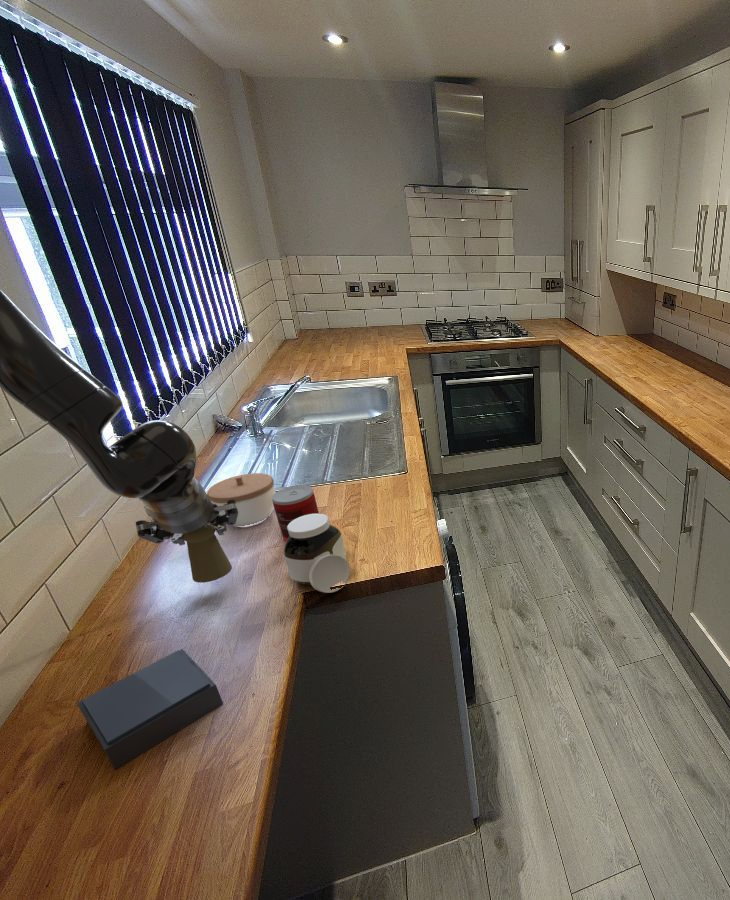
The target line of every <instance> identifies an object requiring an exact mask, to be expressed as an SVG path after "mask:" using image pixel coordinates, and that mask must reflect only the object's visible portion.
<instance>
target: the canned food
mask: <svg viewBox="0 0 730 900" xmlns="http://www.w3.org/2000/svg"><path fill="white" fill-rule="evenodd" d="M272 502H273V506H274V512H275V515H276V519H277V523H278V525H279V530H280V533H281V536H282V539H283V542H284V544H286V541H287V539H288V537H289V536H290V535H289V532H288V529H287V526H288V524H289V523H290V522H291V521H293V520H294V519H296V518H299V517H301V516H304V515H308V514H320V512H319V508H318V504H317V500H316V496H315V492H314V490H313V487H312V486H310V485H306V484H299V485H298V484H297V485H292V486H288V487H284V488H282V489H280V490H278V491H276V493H275V494H274V495H273V496H272Z"/></svg>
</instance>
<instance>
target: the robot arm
mask: <svg viewBox="0 0 730 900" xmlns="http://www.w3.org/2000/svg"><path fill="white" fill-rule="evenodd" d="M0 388H1V390H3V391H4V392H5V393H6V394H7V395H8V396H10V397H11V398H12V399H13V400H14V401H16V402H17V403H19V405H21V406H23V407H24V408H25V409H27V410H28V411H29V412H31V413H32V414H34V416H36V417H38V418H39V419H40V420H41V421H43V422H44V423H46V424H47V425H48V426H49V427H51V428H52V429H53V430H54V431H56V432H57V433H58V434H59V435H60V436H61V437H62V438H63V439H64V440H65V441H67V442H68V443H69V444H70V445H71V446H72V448H73V449H74V450H75V451H76V452H77V453H78V455H79V456H80V457H81V458H82V460H83V461H84V462H85V464H86V465H87V466H88V468H89V469H90V470H91V472H92V473H93V474H94V476H95V478H96V479H97V480H98V481H99V482H100V484H101V485H102V487H104V488H105V489H106V490H108V491H109V492H111V493H112V494H114V495H115V496H119V497H122V498H126V499H138V501H139V502H140V503H141V505H142V506H143V509H144V511H145V513H146V515H147V516H149V517H151V518H152V520H149V521H147V520H144V519H143V520H142V519H141V520H137V521H135V527H136V532H137V533H136V534H137V537H138V538H140V539H143V540H146V541H149V542H150V543H153V544H161V543H164V541H165V540H168V542H172V543H173V544H174V545H177V544H178V545H179V546H184V545H186V541H185V540H183V539H182V538H181V536H182V534H183V533H189V532H192V531H195V530H197V529H199V528H205V529H209V530H211V529H213V528H214V529H216V531H215V532H216V533H217V535H218V536H223V535H224V534H225V532H227V531H228V528H227V526H233V525H234V524H235V523H236V520H237V516H238V509H237V505H236V501H235V500H229V501H227V504H224V505H223V506H217V505H216V504H213V503H212V502H211V501H210V499H209V497H208V495H207V491H206V490H205V488H204V486H203V485H202V483H200V481H199V480H197V479H196V477H195V475H196V467H197V460H198V454H197V449H196V446H195V443H194V441H193V439H192V438H191V436H190V435H189V434H188V433H187V432H186V431H185V429H183V428H182V427H181V426H179V425H177V424H175V423H173V422H170V421H167V420H162V419H154V420H148V421H145V422H143V423H141V424H139V425H138V426H136V427H135V428H134V429H132V430H131V431H130V432H128V433H126V434H125V435H124V436H122V437H121V438H119V439H118V440H117V441H115V442H114V443H113V444H111V445H110V446H107V445H106V443H105V441H104V438H103V432H104V430H105V428H106V427H107V425H108V424H109V423H110V422H111V421H112V420H113V419H114V418H115V417H116V416H117V415H119V413H120V412H121V411H122V408H123V401H122V400H121V398H120V397H119V396H118V395H117V394H116V393H115V392H114V391H113V390H111V388H109V387H108V386H106V385H105V384H104V383H103V382H101V381H100V380H99V379H98V378H96V376H94V375H93V374H92V373H90V372H89V371H88V370H87V369H86V368H85V367H83V366H82V365H81V364H80V363H78V362H77V361H76V360H75V359H73V358H72V357H71V356H70V355H69V354H67V353H66V352H65V351H64V350H63V349H62V348H60V347H59V346H58V345H57V344H55V342H54V341H52V340H51V339H50V338H49V337H48V336H47V335H46V334H45V333H44V332H43V331H42V330H41V329H40V328H38V326H37V325H35V323H34V322H33V321H31V320H30V319H29V318H28V316H26V315H25V314H24V313H23V312H22V311H21V309H19V307H18V306H17V305H16V304H15V303H14V302H13V301H12V300H11V299H10V298H9V297H8V296H7V295H6V294H5V293H4V292H3V290H2V289H0ZM219 513H223V514H225V515H221V514H219Z"/></svg>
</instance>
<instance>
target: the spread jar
mask: <svg viewBox="0 0 730 900" xmlns="http://www.w3.org/2000/svg"><path fill="white" fill-rule="evenodd" d="M287 529H288V532H289V535H290V536H289V537H288V539H287V541H286V543H284V547H283V557H284V562H285V564H286V568H287V569H286V570H287V572H288V575H289V577H290V578H291V579H292V580H293V581H294V582H296V583H298V584H302V585H306V586H311V587H312V588H313V589H314V590H315V591H317V592H321V593H324V594H325V593H326V594H329V593H330V594H331V593H336V592H338V591H339V590H341V589H343V587H344V586H345V585H346V584H347V583H348V581H349V579H350V575H351V568H350V564H349V562H348V561H347V551H346V546H345V542H344V537H343V535H342V532H341V530H340V529H339V528H338V527H336V526H334V525H332V524H330V520H329V517H328V515H326V514H324V513H319V514H308V515H304V516H301V517H299V518H296V519H294V520H293V521H291V522H290V523H289V524H288V526H287ZM341 581H343V583H345V584H344V586H342V587H341V588H336V589H332V590H331V589H330V587H332V586H333V585H335V584H337V583H339V582H341Z"/></svg>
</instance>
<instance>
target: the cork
mask: <svg viewBox="0 0 730 900" xmlns="http://www.w3.org/2000/svg"><path fill="white" fill-rule="evenodd" d="M216 532H217V531H216V529H214V528H213V529H211V530H209V529H205V528H199V529H197V530H195V531H192V532H189V533H183V534H182V536H181V538H182V539H183V540H184V541H185V543H186V546H187V553H188V559H189V565H190V570H191V577H192V581H193V582H195V583H198V584H201V583H203V584H205V583H210V582H213V581H216V580H219V579H221V578H224V577H225V576H227V575H228V574H229V573H231V571H232V569H233V566H232V563H231V562H230V560H229V558H228V556H227V555H226V553H225V550H224V549H223V547H222V545H221V543H220V541H219V539H218V537H217V535H216V534H215V533H216Z"/></svg>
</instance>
